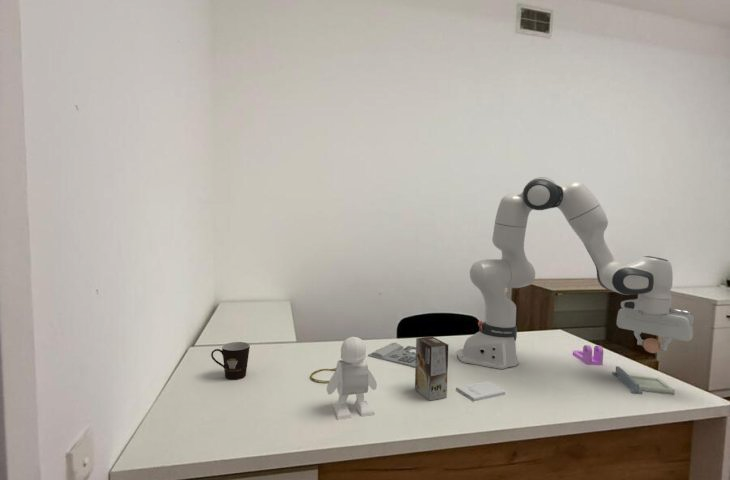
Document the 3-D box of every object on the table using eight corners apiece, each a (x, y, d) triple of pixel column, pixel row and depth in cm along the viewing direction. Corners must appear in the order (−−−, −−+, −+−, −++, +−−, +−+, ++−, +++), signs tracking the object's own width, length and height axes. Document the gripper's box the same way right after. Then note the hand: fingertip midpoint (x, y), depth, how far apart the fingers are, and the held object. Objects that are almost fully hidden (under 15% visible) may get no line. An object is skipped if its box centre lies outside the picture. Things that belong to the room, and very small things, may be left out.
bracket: (602, 365, 145) (603, 347, 145) (587, 365, 145) (588, 347, 145) (583, 353, 158) (584, 337, 158) (569, 353, 158) (570, 336, 158)
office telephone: (367, 351, 147) (391, 339, 164) (367, 358, 148) (391, 345, 164) (423, 364, 135) (443, 349, 152) (423, 371, 135) (443, 355, 152)
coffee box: (447, 397, 114) (450, 344, 113) (429, 401, 111) (431, 346, 111) (430, 385, 122) (432, 335, 122) (413, 388, 120) (415, 337, 119)
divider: (631, 392, 121) (632, 383, 121) (612, 374, 136) (612, 365, 136) (642, 394, 120) (642, 384, 120) (621, 375, 136) (622, 366, 136)
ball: (642, 352, 126) (642, 338, 125) (642, 349, 129) (643, 335, 129) (660, 356, 123) (661, 341, 122) (660, 352, 126) (661, 338, 126)
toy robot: (330, 420, 99) (332, 344, 98) (323, 404, 107) (325, 334, 107) (381, 413, 103) (383, 340, 102) (370, 399, 112) (372, 331, 111)
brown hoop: (361, 380, 125) (361, 374, 125) (314, 387, 119) (314, 380, 119) (349, 367, 137) (349, 361, 137) (305, 372, 131) (306, 366, 131)
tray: (638, 390, 123) (638, 386, 123) (625, 378, 133) (625, 374, 133) (674, 394, 121) (674, 390, 121) (658, 382, 130) (658, 378, 130)
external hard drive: (505, 396, 117) (473, 403, 112) (486, 385, 125) (455, 391, 119) (505, 391, 117) (473, 397, 112) (486, 380, 125) (455, 386, 119)
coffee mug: (254, 374, 127) (255, 344, 127) (236, 383, 119) (236, 352, 119) (228, 367, 132) (228, 339, 132) (208, 376, 124) (209, 346, 124)
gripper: (697, 311, 119) (695, 354, 119) (623, 299, 135) (621, 338, 136) (691, 313, 115) (689, 358, 116) (615, 301, 132) (613, 341, 132)
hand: (651, 347), depth 126 cm, fingers closed on ball, 5 cm apart
